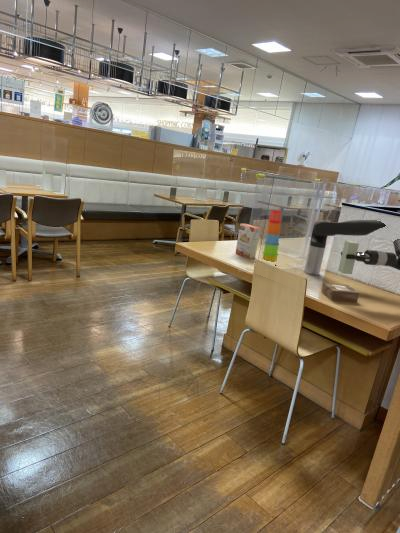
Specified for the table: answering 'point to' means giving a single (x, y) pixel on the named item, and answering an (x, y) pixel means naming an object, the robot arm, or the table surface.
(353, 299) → the plinth
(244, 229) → the cracker box
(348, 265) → the pillar
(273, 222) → the stacking cups
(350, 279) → the table surface
